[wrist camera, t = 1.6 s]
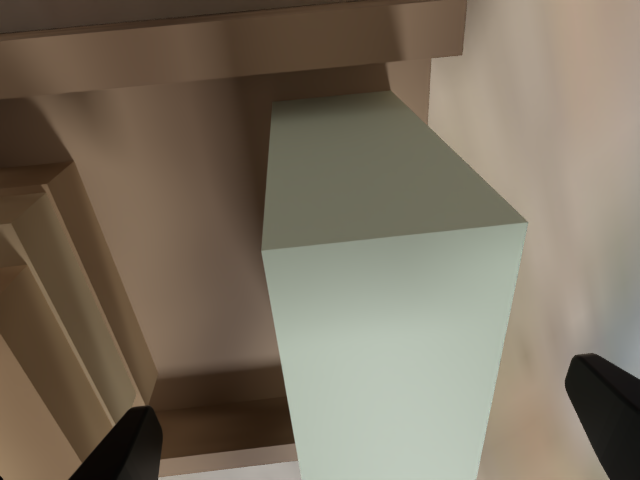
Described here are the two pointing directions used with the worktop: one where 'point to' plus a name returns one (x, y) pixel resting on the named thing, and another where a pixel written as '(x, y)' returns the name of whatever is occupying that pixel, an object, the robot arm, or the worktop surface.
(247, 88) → the rack
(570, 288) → the worktop surface
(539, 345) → the worktop surface
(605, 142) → the worktop surface
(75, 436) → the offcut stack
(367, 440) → the pale grey rectangular block
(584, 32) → the worktop surface
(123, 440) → the robot arm
